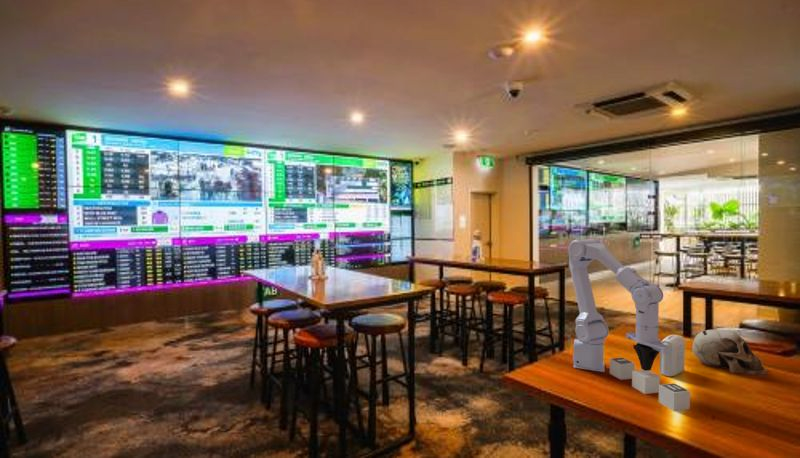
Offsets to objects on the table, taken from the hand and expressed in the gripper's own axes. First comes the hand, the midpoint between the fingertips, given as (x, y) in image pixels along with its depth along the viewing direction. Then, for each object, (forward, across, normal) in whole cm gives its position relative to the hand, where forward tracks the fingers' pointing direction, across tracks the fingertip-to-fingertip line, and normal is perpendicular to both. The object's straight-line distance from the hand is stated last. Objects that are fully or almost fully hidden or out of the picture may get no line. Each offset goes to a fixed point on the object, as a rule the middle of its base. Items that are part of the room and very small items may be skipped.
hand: (646, 369), depth 120 cm
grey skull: (+6, +9, -40) cm, 42 cm away
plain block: (+6, 0, 0) cm, 6 cm away
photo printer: (+6, +9, -18) cm, 21 cm away
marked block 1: (+6, +10, 0) cm, 12 cm away
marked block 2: (+6, -10, 0) cm, 12 cm away
